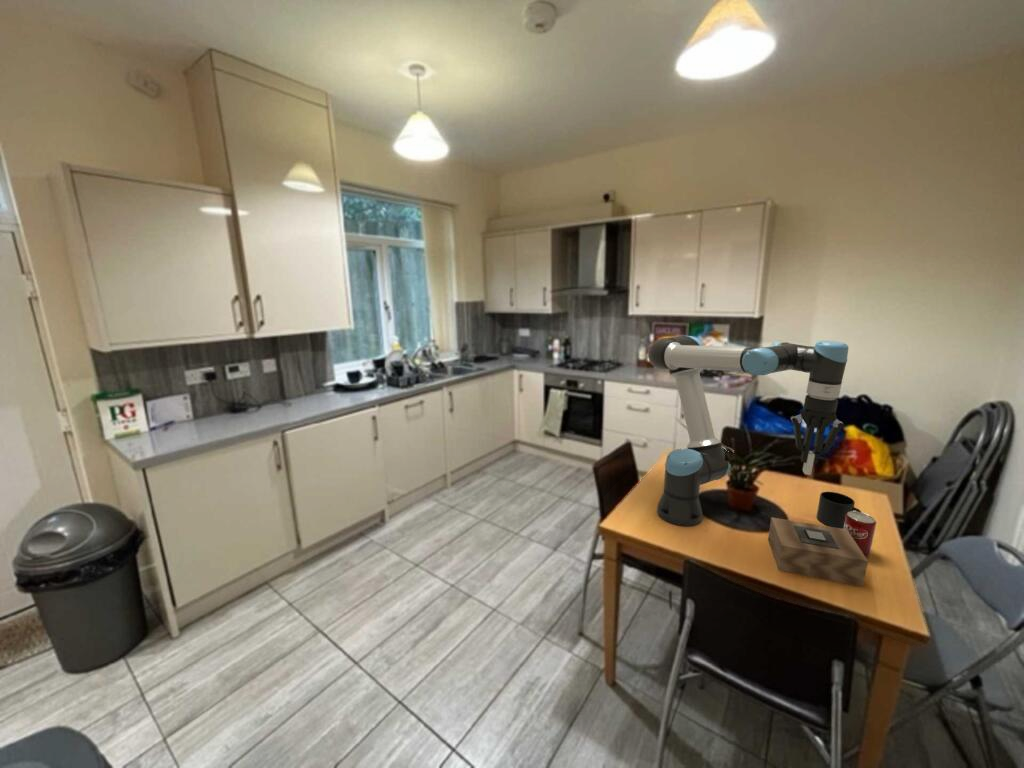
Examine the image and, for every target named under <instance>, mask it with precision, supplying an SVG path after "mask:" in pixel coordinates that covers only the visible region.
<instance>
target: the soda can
mask: <svg viewBox="0 0 1024 768" xmlns="http://www.w3.org/2000/svg"><path fill="white" fill-rule="evenodd" d="M876 526H877V521H876V520H875V518H874V517H873V516H871V515H870V514H867V513H864V512H862V511H861V512H857V511H854V510H853V511H850V512H848V513H846V515H845V520H844V526H843V529H847V530H848V532H849V533H850V535H851V536H852V538H853V539H854V541H855V542H856V544H857V545H858V547H859V548H860V550H861V551H862V553H863V554H864V556H865V557H866V558H868V557H870V555H871V550H872V545H873V540H874V536H875V532H876V531H875V530H876Z"/></svg>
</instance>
